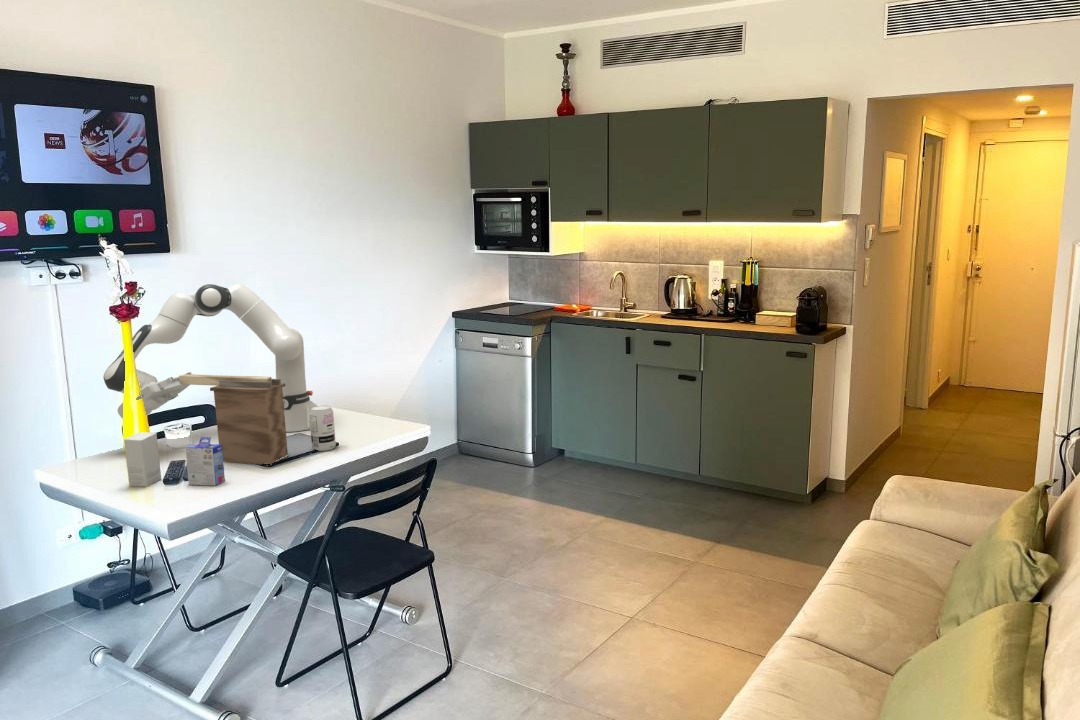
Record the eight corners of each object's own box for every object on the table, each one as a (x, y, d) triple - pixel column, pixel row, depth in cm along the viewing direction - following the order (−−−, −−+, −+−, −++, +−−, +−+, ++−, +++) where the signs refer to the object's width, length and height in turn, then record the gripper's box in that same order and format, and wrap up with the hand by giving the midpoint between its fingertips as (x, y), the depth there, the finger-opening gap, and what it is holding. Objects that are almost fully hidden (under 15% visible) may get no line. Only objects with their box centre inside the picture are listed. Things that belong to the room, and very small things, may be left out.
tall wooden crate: (237, 453, 297) (230, 376, 293) (291, 456, 291) (284, 377, 286) (217, 462, 287) (209, 382, 282) (272, 465, 281) (265, 383, 276)
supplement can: (317, 445, 305) (314, 405, 302) (339, 445, 304) (336, 405, 301) (308, 451, 297) (305, 410, 294) (331, 451, 296) (328, 410, 293)
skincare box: (144, 478, 271) (139, 431, 268) (163, 479, 270) (158, 432, 267) (128, 486, 263) (122, 438, 260) (147, 487, 261) (141, 439, 259)
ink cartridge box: (226, 480, 266) (222, 436, 263) (216, 486, 260) (211, 441, 258) (198, 479, 268) (194, 435, 265) (188, 485, 262) (183, 440, 260)
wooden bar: (185, 382, 294) (185, 374, 293) (272, 385, 283) (271, 376, 283) (179, 384, 291) (179, 375, 290) (266, 387, 281) (266, 378, 280)
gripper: (128, 393, 286) (155, 374, 282) (170, 381, 306) (196, 363, 301) (137, 409, 286) (164, 390, 282) (179, 396, 306) (205, 379, 301)
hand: (181, 376), depth 292 cm, fingers open, 8 cm apart
